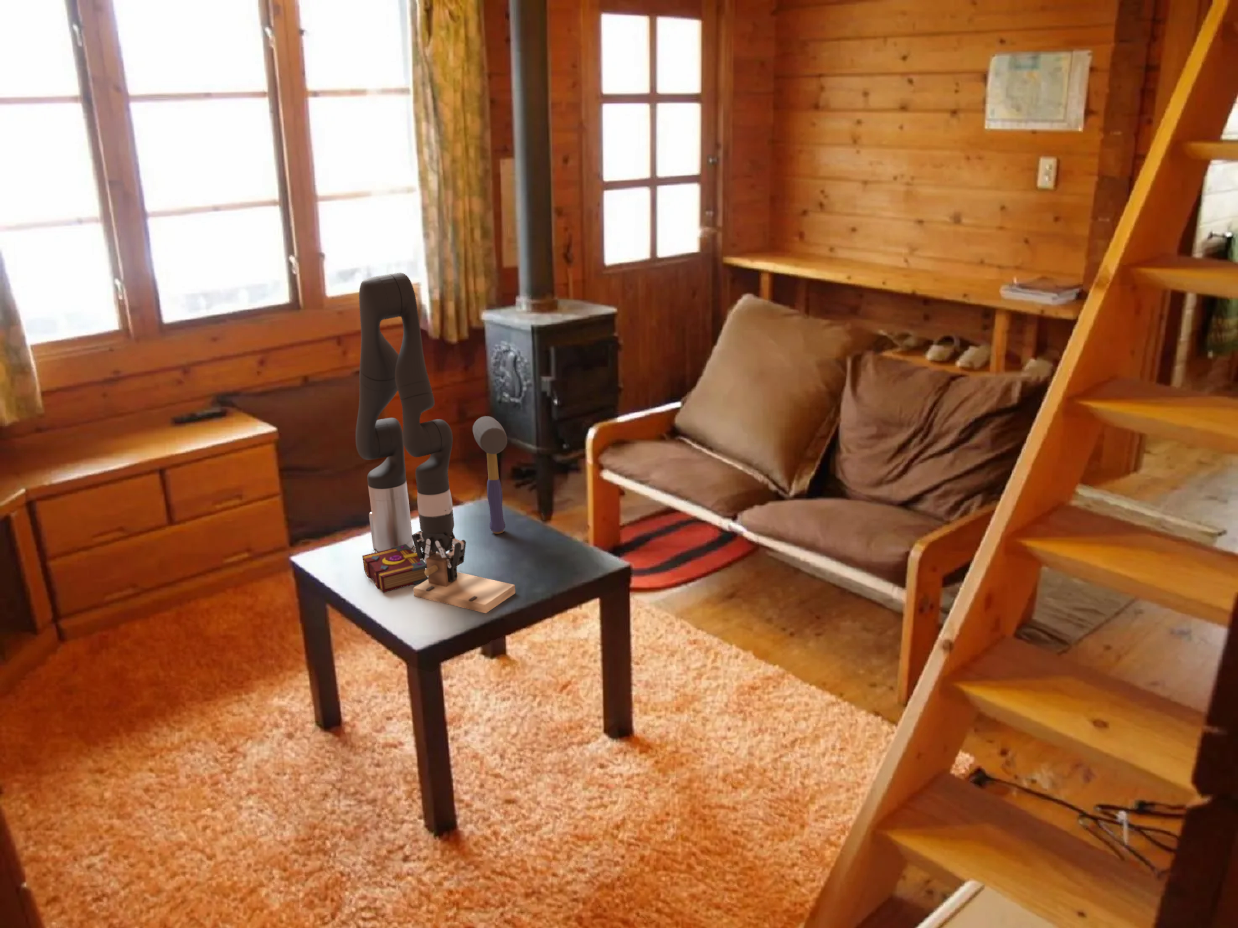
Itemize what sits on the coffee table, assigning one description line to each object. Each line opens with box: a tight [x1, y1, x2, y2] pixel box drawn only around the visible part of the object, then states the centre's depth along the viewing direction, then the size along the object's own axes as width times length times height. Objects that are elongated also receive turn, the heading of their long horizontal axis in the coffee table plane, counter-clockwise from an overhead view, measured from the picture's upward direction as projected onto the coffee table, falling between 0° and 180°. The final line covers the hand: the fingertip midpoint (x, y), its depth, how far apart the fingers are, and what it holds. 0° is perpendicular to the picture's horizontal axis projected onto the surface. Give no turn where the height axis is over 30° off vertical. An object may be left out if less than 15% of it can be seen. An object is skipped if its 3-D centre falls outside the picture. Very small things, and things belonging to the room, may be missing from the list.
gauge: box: [424, 552, 457, 587], centre depth 236 cm, size 5×10×6 cm, turn 150°
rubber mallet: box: [472, 415, 508, 534], centre depth 264 cm, size 12×8×30 cm, turn 17°
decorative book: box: [361, 544, 428, 593], centre depth 245 cm, size 11×16×5 cm
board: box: [412, 571, 516, 614], centre depth 234 cm, size 20×11×2 cm, turn 60°
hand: (442, 578), depth 237 cm, fingers closed on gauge, 5 cm apart
